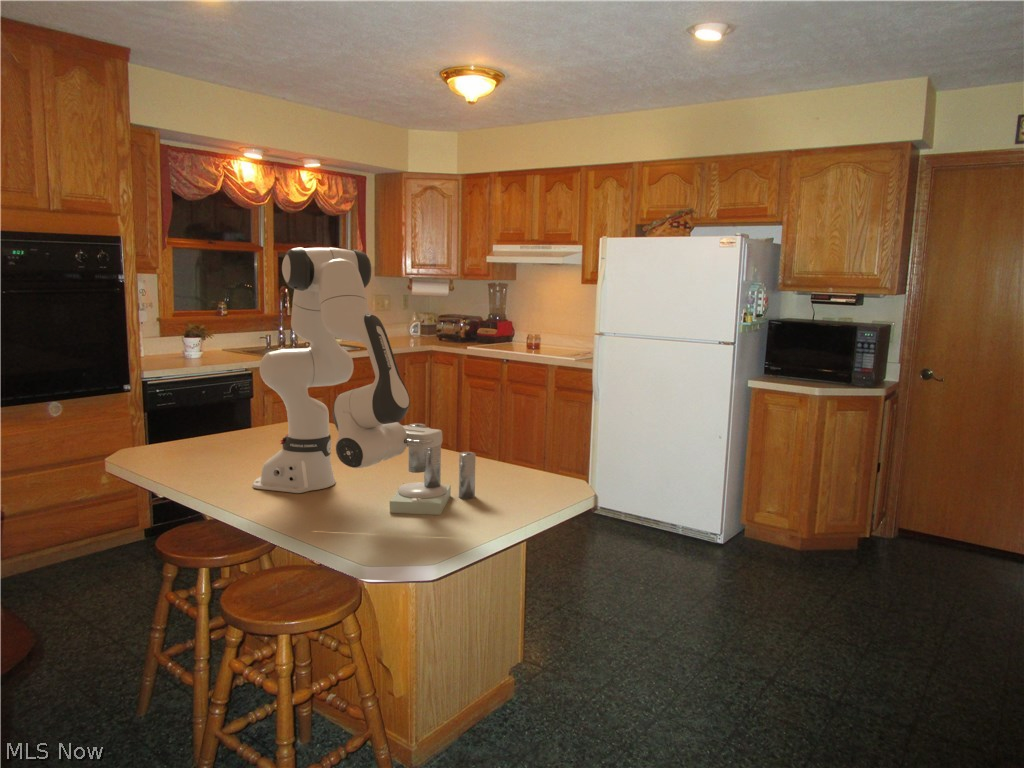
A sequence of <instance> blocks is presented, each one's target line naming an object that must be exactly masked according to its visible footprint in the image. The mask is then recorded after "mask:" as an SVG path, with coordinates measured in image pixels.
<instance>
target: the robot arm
mask: <svg viewBox="0 0 1024 768" xmlns="http://www.w3.org/2000/svg"><path fill="white" fill-rule="evenodd" d="M281 271H282V276H283V280H284V282H285V284H286V285H287V286H288V287H289V288H290V289H292V290H293V296H292V307H291V318H290V327H291V331H292V332H293V333H294V334H296V336H298V337H299V338H300V339H302V340H305V341H307V342H309V346H308V347H302V348H301V347H298V348H297V347H296V348H281V349H277V350H273V351H268V352H266V353H265V354H264V355H263V357H262V359H261V360H260V363H259V375H260V377H261V379H262V381H263V383H265V385H266V386H268V387H269V388H270V389H272V391H274V392H275V393H276V394H277V395H278V396H279V397H280V399H281V400H282V401H283V404H284V406H285V409H286V414H287V425H288V426H287V427H288V433H287V434H285V436H284V437H283V438H282V439H281V440H280V443H279V444H280V445H282V448H281V449H280V450H279V451H277V452H276V453H275V454H273V455H272V456H270V457H269V459H267V460H266V461H265V462H264V463H263V465H262V467H261V468H262V469H261V474H260V476H259V477H257V478H256V479H255V480H253V483H252V487H253V489H256V490H257V489H258V490H264V491H266V490H267V491H274V492H275V491H277V492H284V493H293V494H302V493H306V492H307V493H308V492H310V491H317V490H323V489H326V488H327V489H328V488H329V487H332V486H334V485H335V484H336V483H337V482H336V479H335V475H334V471H333V466H332V465H333V464H332V461H331V454H332V439H331V438H332V437H331V434H330V416H329V415H330V413H329V412H330V411H329V409H328V406H327V405H326V404H325V403H323V402H322V401H320V400H318V399H316V398H314V397H311V396H310V395H309V391H308V390H309V388H314V387H330V386H331V387H332V386H336V385H340V384H343V383H347V382H348V381H349V380H350V379H351V378H352V375H353V373H354V366H355V365H354V359H353V358H352V356H351V354H350V353H349V352H348V350H346V349H345V348H343V347H342V346H341V345H340V344H339V342H338V340H337V339H340V340H342V341H349V342H359V343H362V344H363V345H364V346H365V347H366V350H367V353H368V356H369V359H370V363H371V366H372V369H373V372H374V376H375V378H374V381H373V382H372V383H370V384H367V385H363V386H361V387H358V388H357V387H356V388H354V389H351V390H348V391H345V392H342V393H340V394H338V395H337V396H336V398H335V400H334V402H333V405H332V419H333V423H334V425H335V429H336V430H337V433H338V437H337V440H336V443H335V452H336V456H337V458H338V459H339V461H340V462H341V463H342V464H343V465H345V466H347V467H349V468H353V469H363V468H367V467H371V466H373V465H377V464H379V463H380V462H382V461H387V460H389V459H392V458H396V457H398V456H401V455H402V454H403V453H404V452H405V451H406V450H407V447H408V448H409V447H414V448H431V447H434V446H438V445H441V446H442V444H443V431H442V430H441V429H436V428H431V427H427V426H426V427H425V428H420V427H411V426H409V425H410V424H408V425H407V424H406V425H402V424H401V423H400V422H401V421H402V420H403V419H404V418H405V417H406V415H407V413H408V411H409V409H410V404H411V400H410V394H409V392H408V389H407V387H406V385H405V384H404V381H403V379H402V377H401V374H400V371H399V368H398V365H397V364H398V363H397V362H396V359H395V356H394V352H393V349H392V345H391V343H390V340H389V337H388V334H387V331H386V329H385V326H384V324H383V323H382V321H381V319H380V318H379V317H378V316H376V315H374V314H372V313H371V311H370V308H369V305H368V300H367V299H368V298H367V294H366V290H365V288H366V287H368V285H369V283H370V282H371V277H372V263H371V260H370V258H369V257H368V255H367V254H366V253H365V252H364V251H360V250H357V249H351V250H350V249H345V248H338V247H329V246H328V247H306V248H304V247H303V246H302V247H294V248H291V249H288V251H286V253H285V254H284V257H283V260H282V264H281ZM336 338H337V339H336Z"/></svg>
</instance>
